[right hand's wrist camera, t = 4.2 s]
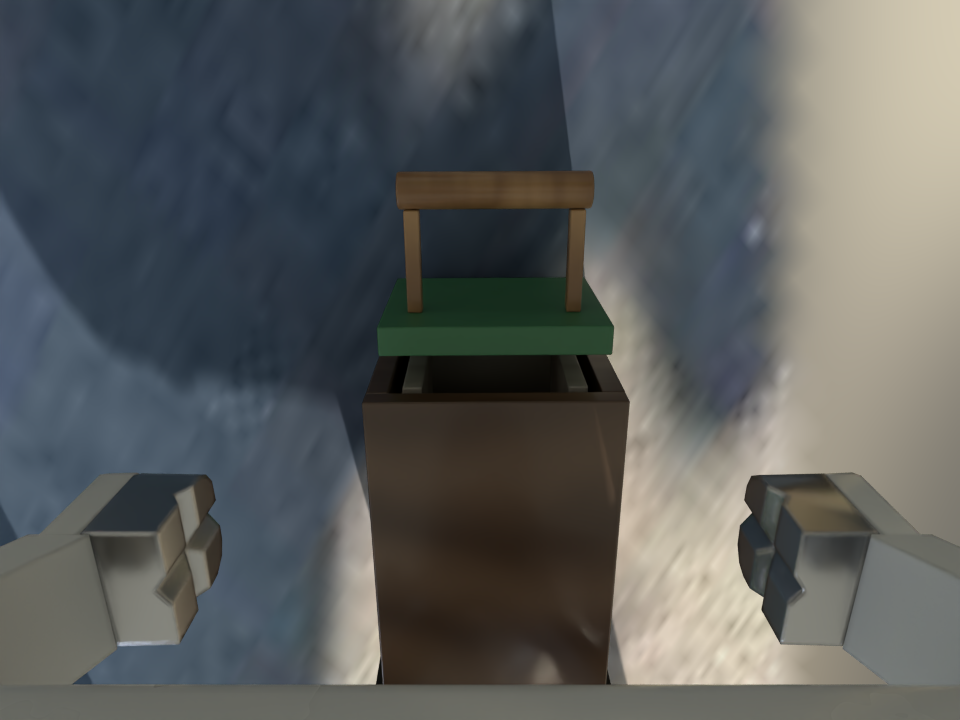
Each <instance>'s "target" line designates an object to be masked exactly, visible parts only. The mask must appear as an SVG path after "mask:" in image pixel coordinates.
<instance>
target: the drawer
mask: <svg viewBox="0 0 960 720" xmlns="http://www.w3.org/2000/svg"><path fill="white" fill-rule="evenodd" d="M593 199H594V176H593V172H592V171H428V172H397V175H396V201H397V206H398V209H400V210H402V209H404V211H403V220H404V243H405V265H406V278H399V279H397V281H396V284H395V286H394V289H393V291H392V293H391V296H390V298H389V300H388V303H387V305H386V308H385V310H384V312H383V315H382V317H381V320H380V322H379V324H378V327H377V340H378V354H379V356H410V359H409V363H408V367H407V372H406V376H405V380H404V384H403V388H402V394H413V393H558V392H588V386H587V384H586V381H585V378H584V376H583V373H582V371H581V368H580V366H579V363H578V360H577V358H576V355H611V354H612V349H613V335H614V326H613V324H612V322H611V321H610V319H609V317H608V316H607V314H606V312H605V311H604V309H603V307H602V306H601V304H600V302H599V301H598V299H597V297H596V296H595V294H594V292H593V291H592V289H591V288H590V286H589V284H588V283H587V281H586V279H585V278H584V277H583V261H584V242H585V223H586V210H585V209H588V208H591V206H592V204H593ZM419 209H569V219H568V242H567V265H566V277H558V278H422V259H421V232H420V210H419Z"/></svg>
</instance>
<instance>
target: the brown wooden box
mask: <svg viewBox="0 0 960 720" xmlns="http://www.w3.org/2000/svg"><path fill="white" fill-rule="evenodd" d="M576 358H577V360H578V363H579V366H580V368H581V371H582V373H583V376H584V378H585V381H586V384H587V386H588V392H558V393H413V394H402V388H403V384H404V380H405V376H406V372H407V367H408V363H409V359H410V356H379V359H378V361H377V364H376V367H375V370H374V372H373V375H372V378H371V381H370V383H369V386H368V389H367V392H366V394H365V397H364V400H363V402H362V412H363V425H364V438H365V452H366V465H367V478H368V492H369V505H370V519H371V532H372V545H373V559H374V572H375V586H376V599H377V612H378V626H379V639H380V653H381V666H382V679H383V685H606V677H607V665H608V654H609V642H610V630H611V618H612V606H613V594H614V582H615V571H616V559H617V547H618V535H619V523H620V511H621V499H622V487H623V476H624V464H625V452H626V440H627V428H628V416H629V404H630V402H629V399H628V397H627V395H626V393H625V391H624V389H623V387H622V385H621V383H620V381H619V379H618V377H617V375H616V373H615V371H614V369H613V367H612V365H611V363H610V361H609V359H608V357H607V355H576Z"/></svg>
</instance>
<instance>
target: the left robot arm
mask: <svg viewBox="0 0 960 720" xmlns="http://www.w3.org/2000/svg"><path fill="white" fill-rule="evenodd" d="M376 685H383V679H382V666H381V657H380V663H379V669H378V675H377V681H376ZM606 685H611V683H610V679H609V675H608V670H607V677H606Z"/></svg>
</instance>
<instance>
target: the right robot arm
mask: <svg viewBox="0 0 960 720" xmlns="http://www.w3.org/2000/svg"><path fill="white" fill-rule="evenodd" d="M215 501H216V499H215V494H214V489H213V484H212V481H211V480H210V479H209V477H208V476H207V475H204V474H152V473H141V474H139V473H108V474H102V475H99V476H98V477H97V478H96V479H95V480H94V481H93V482H92V483H91V484H90V485H89V486H88V487H87V488H86V489H85V490H84V491H83V492H82V493H81V494H80V495H79V496H78V497H77V498H76V499H75V500H74V501H73V502H72V503H71V504H70V505H69V506H68V507H67V508H66V509H65V510H64V511H63V512H62V513H61V514H60V515H59V516H58V517H57V518H56V519H55V520H54V521H53V522H51V523H50V524H49V525H48V526H47V527H46V528H45V529H44V530H43V531H42V532H41V533H40V534H36V535H26V536H24V537H21V538H19V539H17V540H14V541H12V542H10V543H8V544H5V545H3V546H1V547H0V720H960V547H959V546H957V545H955V544H952V543H950V542H948V541H946V540H943V539H941V538H939V537H936V536H934V535H924V534H922V535H921V534H920V533H919V532H918V531H917V530H916V529H915V528H914V527H913V526H912V525H911V524H910V523H909V522H908V521H907V520H906V519H904V518H903V517H902V516H901V515H900V514H899V513H898V512H897V511H896V510H895V509H894V508H893V507H892V506H891V505H890V504H889V503H888V502H887V501H886V500H885V499H884V498H883V497H882V496H881V495H880V494H879V493H878V492H877V491H876V490H875V489H874V488H873V487H872V486H871V485H870V484H869V483H868V482H867V481H866V480H865V479H864V478H863V477H862V476H861V475H858V474H855V473H828V474H786V475H756V476H751V478H750V480H749V482H748V484H747V488H746V493H745V499H744V501H745V502H746V504H747V505H748V507H749V508H750V510H751V511H752V514H751V515H750V516H749V517H748V518H747V519H746V520H745V521H744V522H743V523H742V524H741V525H740V530H739V538H738V554H739V563H740V567H741V570H742V573H743V576H744V578H745V580H746V582H747V584H748V586H749V588H750V589H752V590H753V591H755V592H756V593H758V594H759V595H761V596H762V597H764V599H763V605H762V612H763V613H764V615H765V617H766V619H767V621H768V622H769V624H770V626H771V628H772V629H773V631H774V633H775V635H776V637H777V638H778V640H779V642H780V644H788V645H825V646H843V649H844V650H845V651H846V652H848V653H849V654H850V655H851V656H853V657H854V658H855V659H857V660H858V661H859V662H860V663H862V664H863V665H864V666H866V667H867V668H868V669H869V670H871V671H872V672H873V673H875V674H876V675H877V676H878V677H880V678H881V679H882V680H884V681H885V682H886V683H887V684H889V685H72V684H73V683H74V682H75V681H77V680H78V679H79V678H81V677H82V676H83V675H84V674H86V673H87V672H88V671H90V670H91V669H92V668H93V667H95V666H96V665H97V664H99V663H100V662H101V661H102V660H104V659H105V658H106V657H108V656H109V655H110V654H111V653H113V652H114V651H115V650H117V646H135V645H170V644H180V642H181V640H182V639H183V637H184V635H185V633H186V631H187V630H188V628H189V626H190V624H191V622H192V621H193V619H194V617H195V615H196V613H197V612H198V605H197V599H196V597H198V596H199V595H201V594H202V593H204V592H205V591H207V590H208V589H210V588H211V586H212V584H213V582H214V580H215V578H216V576H217V574H218V570H219V566H220V561H221V557H222V536H221V529H220V525H219V524H218V523H217V522H216V521H215V520H214V519H213V518H212V517H211V516H210V515H209V514H208V511H209V510H210V508H211V507H212V505H213V504H214V502H215Z"/></svg>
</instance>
